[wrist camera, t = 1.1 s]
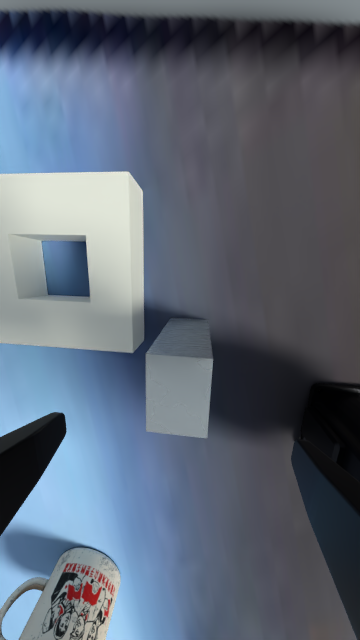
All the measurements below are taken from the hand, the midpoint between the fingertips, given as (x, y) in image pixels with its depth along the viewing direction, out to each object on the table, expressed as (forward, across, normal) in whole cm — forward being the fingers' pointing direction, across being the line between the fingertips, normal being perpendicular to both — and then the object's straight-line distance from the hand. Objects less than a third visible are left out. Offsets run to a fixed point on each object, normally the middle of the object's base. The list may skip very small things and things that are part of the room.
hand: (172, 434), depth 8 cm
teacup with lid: (+10, +13, +32) cm, 36 cm away
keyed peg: (+10, 0, 0) cm, 10 cm away
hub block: (+10, +10, -6) cm, 16 cm away
